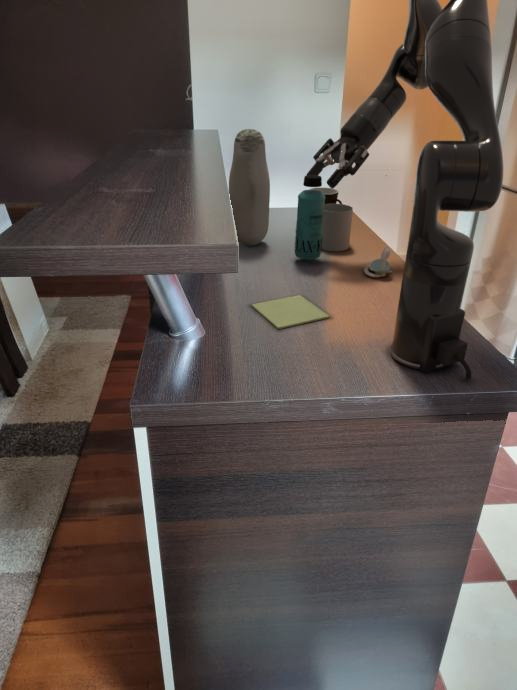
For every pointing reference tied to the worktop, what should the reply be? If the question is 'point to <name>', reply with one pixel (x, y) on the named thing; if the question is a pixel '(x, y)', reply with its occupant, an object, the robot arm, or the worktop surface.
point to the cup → (336, 227)
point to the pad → (289, 311)
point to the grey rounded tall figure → (250, 187)
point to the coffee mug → (329, 195)
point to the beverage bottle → (310, 220)
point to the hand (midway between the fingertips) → (319, 182)
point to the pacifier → (379, 265)
